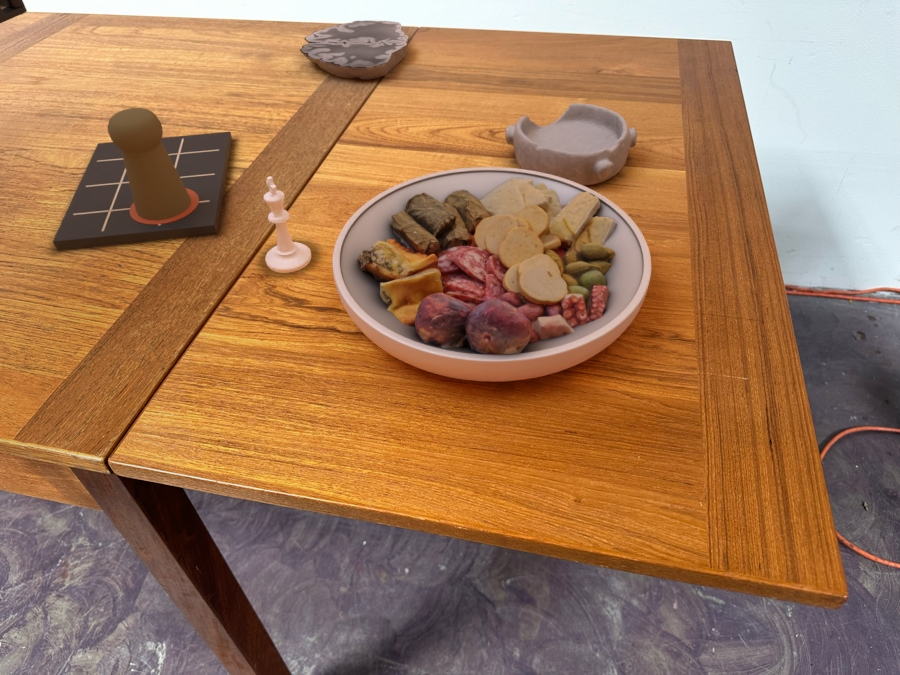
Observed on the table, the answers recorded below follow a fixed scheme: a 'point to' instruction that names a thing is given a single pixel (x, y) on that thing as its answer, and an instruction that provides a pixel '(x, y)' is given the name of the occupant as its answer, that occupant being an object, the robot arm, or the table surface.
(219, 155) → the board
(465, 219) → the bowl
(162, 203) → the brown knobbed peg
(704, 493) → the table surface
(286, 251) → the chess piece
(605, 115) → the dish
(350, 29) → the brain slice
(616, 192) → the table surface
